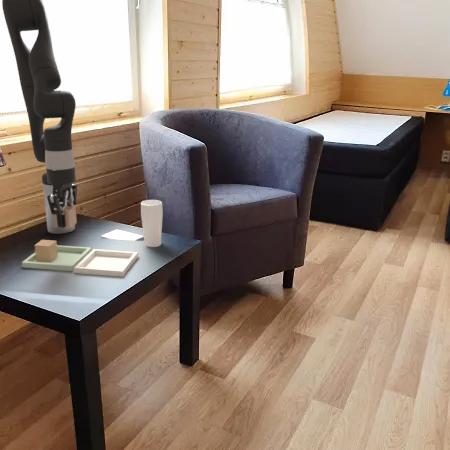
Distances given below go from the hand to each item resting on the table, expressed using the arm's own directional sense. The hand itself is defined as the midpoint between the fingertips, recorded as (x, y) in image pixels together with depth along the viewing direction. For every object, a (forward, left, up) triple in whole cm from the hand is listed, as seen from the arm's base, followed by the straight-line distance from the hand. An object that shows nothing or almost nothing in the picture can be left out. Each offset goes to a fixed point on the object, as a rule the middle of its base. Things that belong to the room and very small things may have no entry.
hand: (65, 223), depth 136 cm
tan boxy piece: (0, -7, -11) cm, 13 cm away
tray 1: (0, -3, -12) cm, 13 cm away
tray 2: (+1, +12, -12) cm, 17 cm away
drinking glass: (-17, +21, -13) cm, 30 cm away
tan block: (0, 0, 0) cm, 0 cm away
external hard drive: (-23, +9, -13) cm, 28 cm away
